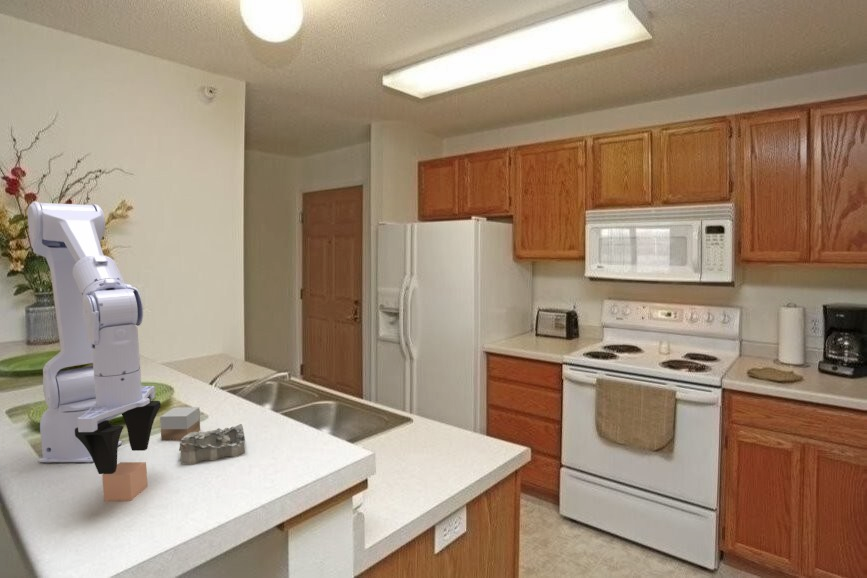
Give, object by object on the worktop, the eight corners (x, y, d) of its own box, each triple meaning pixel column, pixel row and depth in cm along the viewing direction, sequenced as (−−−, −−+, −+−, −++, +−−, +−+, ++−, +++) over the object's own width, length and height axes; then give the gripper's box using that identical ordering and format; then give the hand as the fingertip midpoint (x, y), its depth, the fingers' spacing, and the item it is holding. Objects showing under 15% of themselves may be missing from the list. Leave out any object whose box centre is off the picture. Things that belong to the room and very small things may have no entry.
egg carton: (178, 468, 82) (176, 445, 81) (182, 451, 88) (180, 429, 88) (246, 457, 86) (245, 434, 85) (245, 441, 92) (244, 420, 92)
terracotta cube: (104, 501, 71) (102, 474, 71) (121, 487, 75) (119, 462, 75) (131, 501, 71) (129, 474, 71) (147, 487, 75) (145, 462, 75)
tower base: (161, 442, 93) (160, 429, 92) (175, 431, 98) (174, 419, 97) (187, 441, 93) (186, 429, 92) (200, 431, 97) (199, 419, 97)
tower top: (160, 429, 92) (160, 416, 92) (175, 419, 97) (174, 407, 97) (187, 429, 92) (186, 416, 92) (200, 419, 97) (199, 407, 97)
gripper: (112, 385, 64) (119, 484, 65) (171, 359, 78) (176, 440, 80) (58, 386, 64) (67, 485, 65) (127, 359, 78) (133, 441, 80)
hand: (124, 460), depth 73 cm, fingers open, 7 cm apart
